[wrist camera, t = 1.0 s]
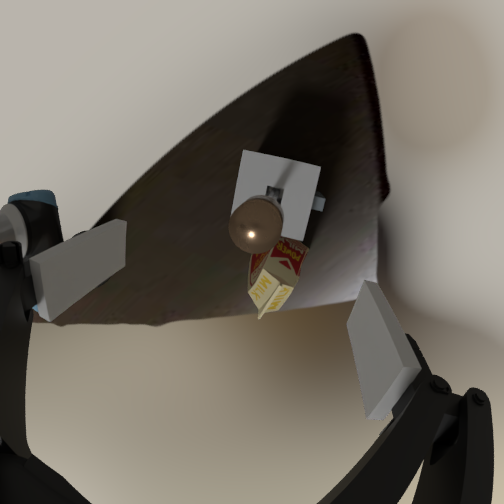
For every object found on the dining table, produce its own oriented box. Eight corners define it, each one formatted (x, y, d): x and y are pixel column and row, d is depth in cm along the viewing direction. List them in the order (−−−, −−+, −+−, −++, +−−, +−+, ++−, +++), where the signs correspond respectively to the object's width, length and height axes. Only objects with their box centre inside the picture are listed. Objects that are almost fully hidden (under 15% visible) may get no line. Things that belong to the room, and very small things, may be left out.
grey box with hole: (246, 207, 54) (229, 223, 41) (257, 152, 50) (243, 149, 37) (310, 222, 53) (316, 244, 40) (324, 167, 49) (334, 170, 36)
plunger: (246, 210, 45) (196, 265, 22) (256, 161, 42) (211, 163, 20) (295, 221, 44) (295, 289, 22) (307, 172, 42) (322, 187, 19)
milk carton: (272, 222, 55) (259, 256, 36) (310, 247, 55) (317, 293, 36) (248, 258, 58) (226, 306, 39) (285, 281, 58) (280, 337, 39)
